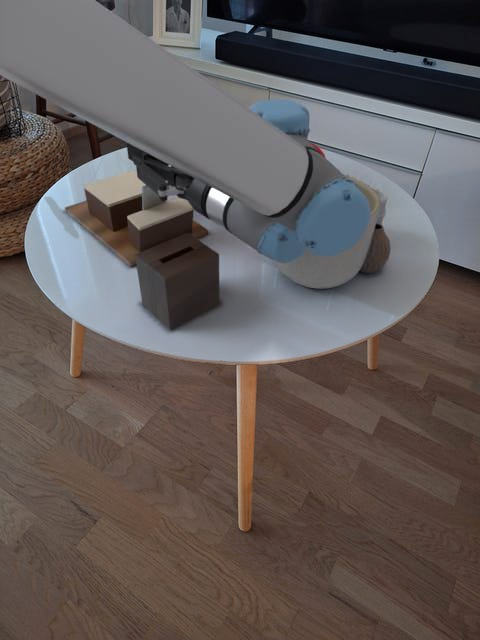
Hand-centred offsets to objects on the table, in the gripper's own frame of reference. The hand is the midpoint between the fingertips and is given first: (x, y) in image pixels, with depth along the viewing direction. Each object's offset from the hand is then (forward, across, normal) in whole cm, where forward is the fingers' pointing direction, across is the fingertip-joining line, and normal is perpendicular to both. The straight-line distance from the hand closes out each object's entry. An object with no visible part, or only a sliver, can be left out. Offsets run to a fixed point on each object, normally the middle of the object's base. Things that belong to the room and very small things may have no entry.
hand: (138, 148), depth 82 cm
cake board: (+5, 0, -17) cm, 18 cm away
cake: (+8, 0, -16) cm, 18 cm away
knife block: (-22, -8, -17) cm, 29 cm away
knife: (-3, 0, -15) cm, 15 cm away
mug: (-27, +32, -17) cm, 45 cm away
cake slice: (-5, 0, -16) cm, 17 cm away
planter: (-31, +16, -17) cm, 39 cm away
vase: (-36, +25, -17) cm, 47 cm away
